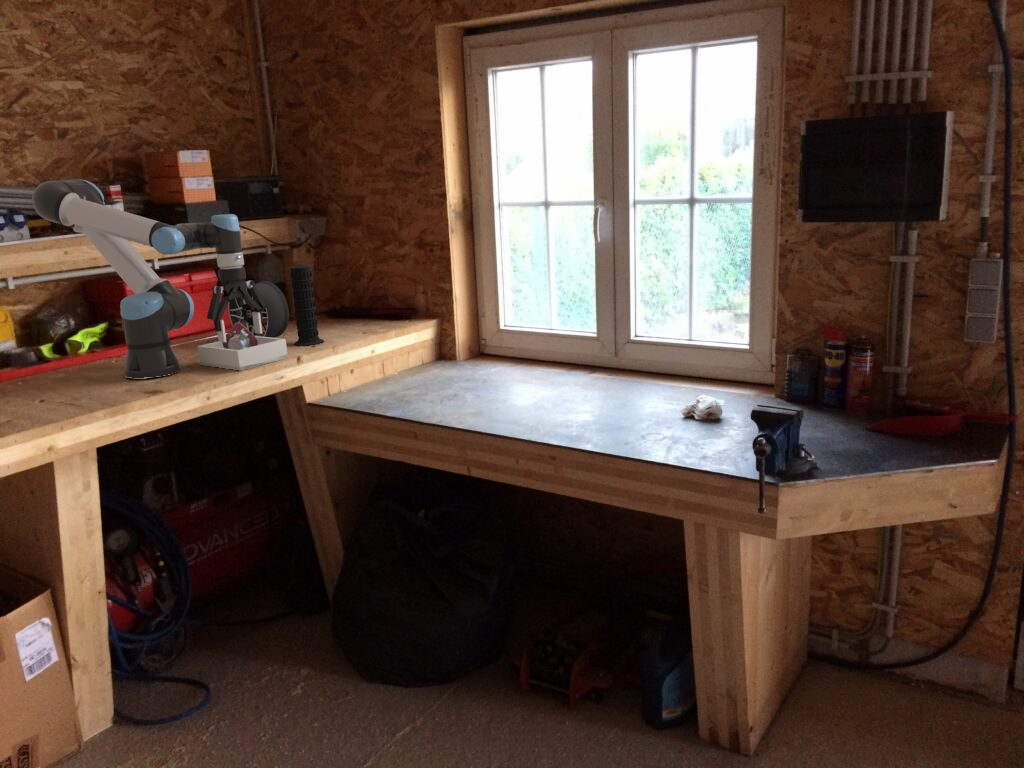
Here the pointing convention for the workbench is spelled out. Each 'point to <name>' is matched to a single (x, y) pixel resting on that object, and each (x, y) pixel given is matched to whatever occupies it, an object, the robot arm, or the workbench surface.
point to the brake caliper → (239, 338)
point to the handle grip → (304, 305)
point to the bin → (243, 354)
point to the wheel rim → (274, 311)
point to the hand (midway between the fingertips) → (241, 337)
